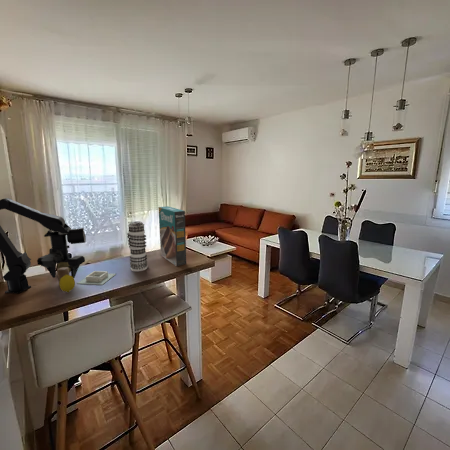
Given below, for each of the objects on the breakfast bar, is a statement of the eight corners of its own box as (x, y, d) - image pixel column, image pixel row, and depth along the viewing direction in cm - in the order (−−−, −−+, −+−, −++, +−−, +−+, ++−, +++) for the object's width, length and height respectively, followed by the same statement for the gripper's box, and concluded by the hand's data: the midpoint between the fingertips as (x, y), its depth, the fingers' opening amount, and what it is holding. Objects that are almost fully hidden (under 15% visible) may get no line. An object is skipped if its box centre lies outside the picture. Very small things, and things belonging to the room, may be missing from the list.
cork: (74, 269, 129) (71, 249, 126) (63, 274, 123) (61, 253, 121) (64, 268, 130) (62, 248, 128) (54, 273, 124) (51, 252, 122)
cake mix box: (160, 255, 152) (158, 207, 146) (170, 253, 155) (168, 206, 149) (176, 266, 135) (174, 211, 128) (186, 263, 138) (184, 210, 132)
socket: (77, 283, 113) (76, 278, 112) (93, 273, 124) (92, 268, 124) (102, 285, 112) (101, 279, 111) (116, 274, 123) (115, 269, 123)
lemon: (59, 292, 105) (56, 274, 103) (74, 288, 108) (71, 271, 107) (62, 296, 101) (59, 278, 99) (77, 292, 105) (75, 274, 103)
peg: (56, 285, 111) (54, 270, 110) (63, 281, 115) (61, 267, 114) (65, 285, 111) (63, 271, 109) (72, 281, 115) (70, 267, 114)
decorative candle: (127, 267, 132) (124, 221, 127) (144, 263, 138) (141, 219, 133) (132, 273, 125) (129, 224, 120) (150, 268, 131) (148, 222, 125)
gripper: (23, 249, 102) (29, 285, 105) (66, 251, 101) (71, 286, 104) (45, 242, 113) (49, 274, 116) (83, 243, 111) (87, 276, 115)
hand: (63, 278), depth 112 cm, fingers open, 9 cm apart
